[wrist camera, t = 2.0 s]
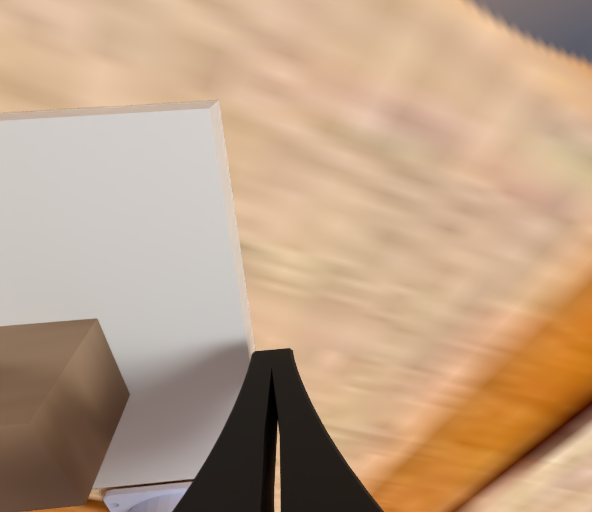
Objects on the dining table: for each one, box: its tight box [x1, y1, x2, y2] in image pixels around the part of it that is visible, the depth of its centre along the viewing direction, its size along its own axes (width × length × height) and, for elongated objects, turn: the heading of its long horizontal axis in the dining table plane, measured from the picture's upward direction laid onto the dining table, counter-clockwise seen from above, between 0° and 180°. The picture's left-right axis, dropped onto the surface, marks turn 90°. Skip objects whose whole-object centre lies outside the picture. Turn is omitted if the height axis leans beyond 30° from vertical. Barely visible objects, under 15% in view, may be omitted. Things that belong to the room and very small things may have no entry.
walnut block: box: [0, 318, 130, 512], centre depth 11 cm, size 4×4×4 cm
